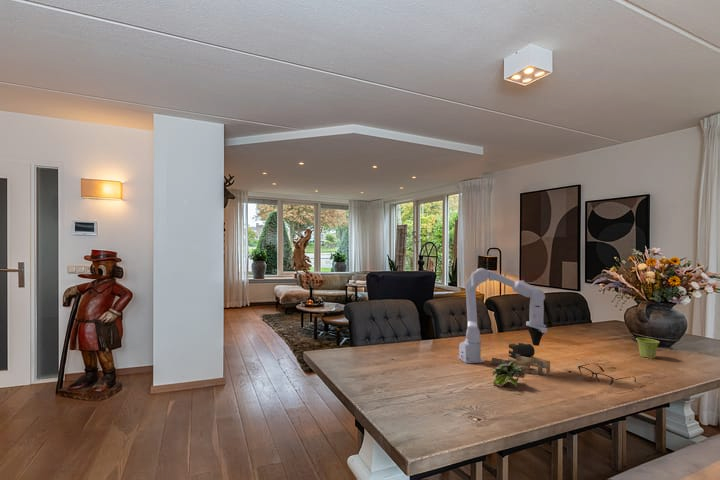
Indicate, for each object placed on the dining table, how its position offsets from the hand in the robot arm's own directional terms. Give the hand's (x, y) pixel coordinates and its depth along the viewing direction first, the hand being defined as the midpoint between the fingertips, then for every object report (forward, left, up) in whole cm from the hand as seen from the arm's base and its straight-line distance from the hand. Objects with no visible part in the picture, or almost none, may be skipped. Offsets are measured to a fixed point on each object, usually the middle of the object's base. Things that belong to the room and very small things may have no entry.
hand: (535, 345), depth 155 cm
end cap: (+4, +15, -11) cm, 19 cm away
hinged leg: (-5, -4, -10) cm, 11 cm away
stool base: (-9, +1, -10) cm, 13 cm away
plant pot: (+73, +6, -11) cm, 74 cm away
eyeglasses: (+22, -15, -11) cm, 29 cm away
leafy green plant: (-26, -15, -11) cm, 32 cm away
